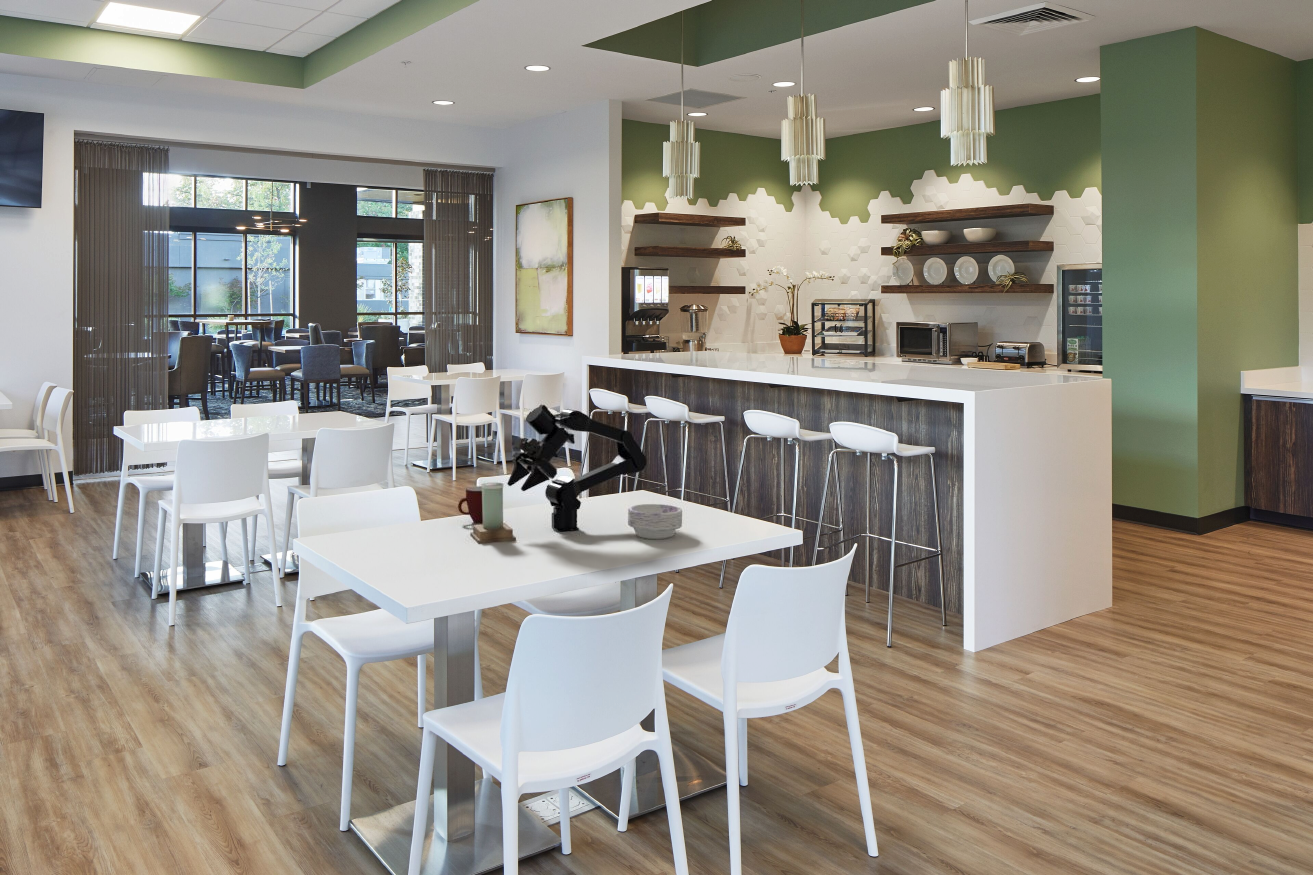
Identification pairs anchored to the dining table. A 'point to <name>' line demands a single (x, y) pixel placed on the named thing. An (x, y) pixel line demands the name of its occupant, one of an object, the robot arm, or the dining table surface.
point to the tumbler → (492, 505)
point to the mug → (473, 504)
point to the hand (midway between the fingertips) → (515, 487)
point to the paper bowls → (654, 520)
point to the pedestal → (492, 534)
